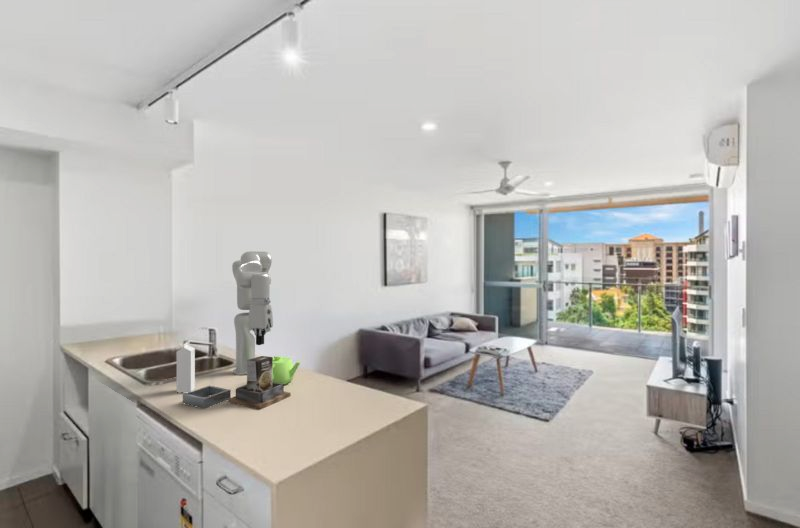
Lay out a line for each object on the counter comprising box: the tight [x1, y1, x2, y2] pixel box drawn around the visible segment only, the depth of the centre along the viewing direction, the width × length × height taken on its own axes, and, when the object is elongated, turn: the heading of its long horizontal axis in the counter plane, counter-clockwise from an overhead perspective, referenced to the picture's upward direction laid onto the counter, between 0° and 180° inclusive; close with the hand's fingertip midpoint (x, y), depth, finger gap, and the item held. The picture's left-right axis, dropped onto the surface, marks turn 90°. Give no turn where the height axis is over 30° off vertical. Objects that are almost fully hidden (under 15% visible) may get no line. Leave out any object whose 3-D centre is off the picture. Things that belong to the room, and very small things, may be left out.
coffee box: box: [246, 355, 274, 393], centre depth 174 cm, size 9×6×16 cm
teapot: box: [272, 355, 301, 385], centre depth 197 cm, size 18×20×13 cm
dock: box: [227, 382, 292, 410], centre depth 174 cm, size 18×18×6 cm
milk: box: [176, 341, 196, 393], centre depth 184 cm, size 6×6×22 cm
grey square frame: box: [182, 385, 232, 410], centre depth 171 cm, size 13×13×4 cm
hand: (260, 344), depth 174 cm, fingers closed
